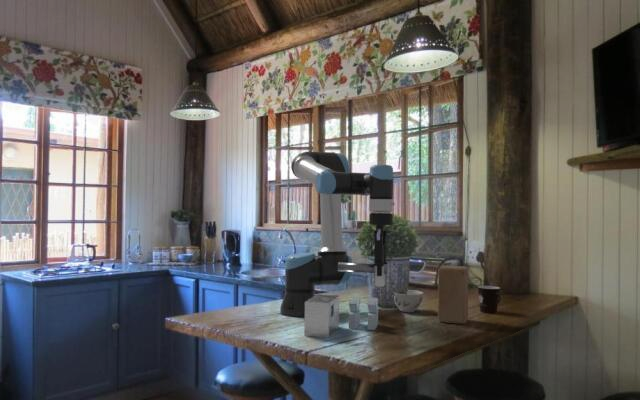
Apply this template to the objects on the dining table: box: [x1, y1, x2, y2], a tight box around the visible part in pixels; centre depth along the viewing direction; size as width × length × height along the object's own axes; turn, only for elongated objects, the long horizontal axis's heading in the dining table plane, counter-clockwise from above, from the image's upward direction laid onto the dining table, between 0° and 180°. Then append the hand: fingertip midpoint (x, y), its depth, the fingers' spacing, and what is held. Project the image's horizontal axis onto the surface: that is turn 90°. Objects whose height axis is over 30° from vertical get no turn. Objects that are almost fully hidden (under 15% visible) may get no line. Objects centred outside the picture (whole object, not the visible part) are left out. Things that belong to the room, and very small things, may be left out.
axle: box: [338, 262, 389, 275], centre depth 166 cm, size 16×3×3 cm, turn 76°
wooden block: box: [437, 265, 469, 325], centre depth 189 cm, size 10×10×20 cm
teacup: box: [393, 289, 424, 313], centre depth 208 cm, size 15×12×8 cm
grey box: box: [303, 293, 340, 338], centre depth 170 cm, size 8×16×11 cm, turn 166°
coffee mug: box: [477, 285, 501, 314], centre depth 206 cm, size 12×9×10 cm
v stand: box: [348, 296, 379, 331], centre depth 178 cm, size 9×9×10 cm
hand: (380, 285), depth 164 cm, fingers closed on axle, 3 cm apart
